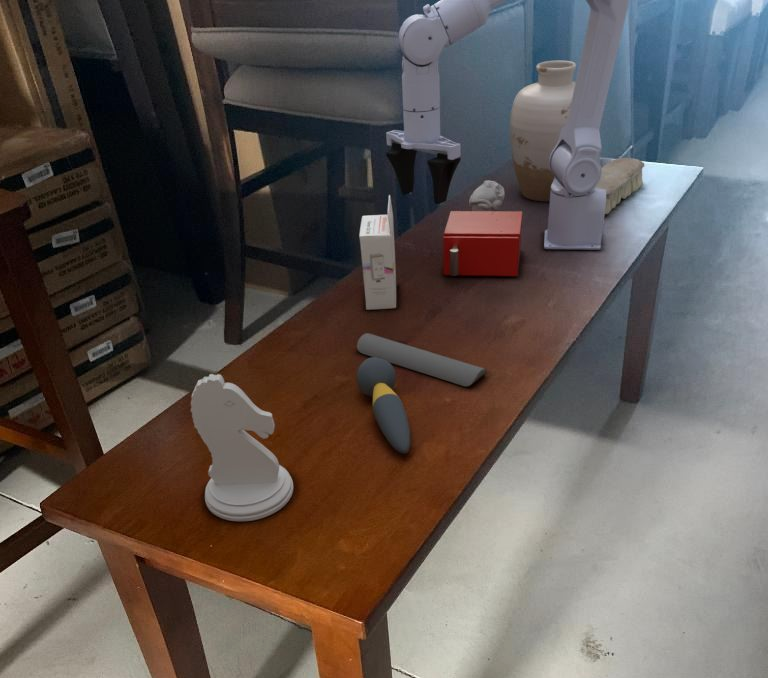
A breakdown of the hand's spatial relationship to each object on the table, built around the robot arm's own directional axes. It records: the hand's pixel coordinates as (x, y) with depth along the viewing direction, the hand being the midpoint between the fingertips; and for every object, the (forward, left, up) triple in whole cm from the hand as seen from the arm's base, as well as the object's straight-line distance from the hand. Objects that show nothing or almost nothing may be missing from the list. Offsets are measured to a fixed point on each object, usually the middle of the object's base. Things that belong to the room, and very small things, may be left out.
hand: (423, 197), depth 128 cm
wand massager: (-2, +50, -10) cm, 51 cm away
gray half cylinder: (-4, +37, -10) cm, 39 cm away
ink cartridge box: (+5, +17, -10) cm, 21 cm away
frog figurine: (-9, -17, -10) cm, 22 cm away
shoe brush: (-32, -28, -10) cm, 44 cm away
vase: (-20, -32, -10) cm, 39 cm away
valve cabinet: (-10, +3, -10) cm, 15 cm away
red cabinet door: (-10, +10, -9) cm, 17 cm away
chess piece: (+11, +67, -10) cm, 69 cm away
